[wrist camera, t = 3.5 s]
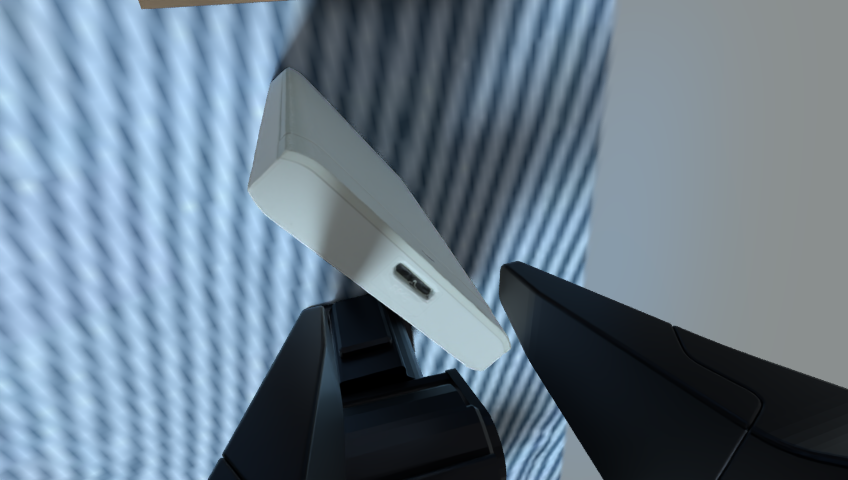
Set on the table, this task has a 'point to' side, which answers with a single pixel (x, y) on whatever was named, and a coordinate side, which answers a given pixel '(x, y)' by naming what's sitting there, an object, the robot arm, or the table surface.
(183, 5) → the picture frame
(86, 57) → the table surface
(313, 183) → the external hard drive
